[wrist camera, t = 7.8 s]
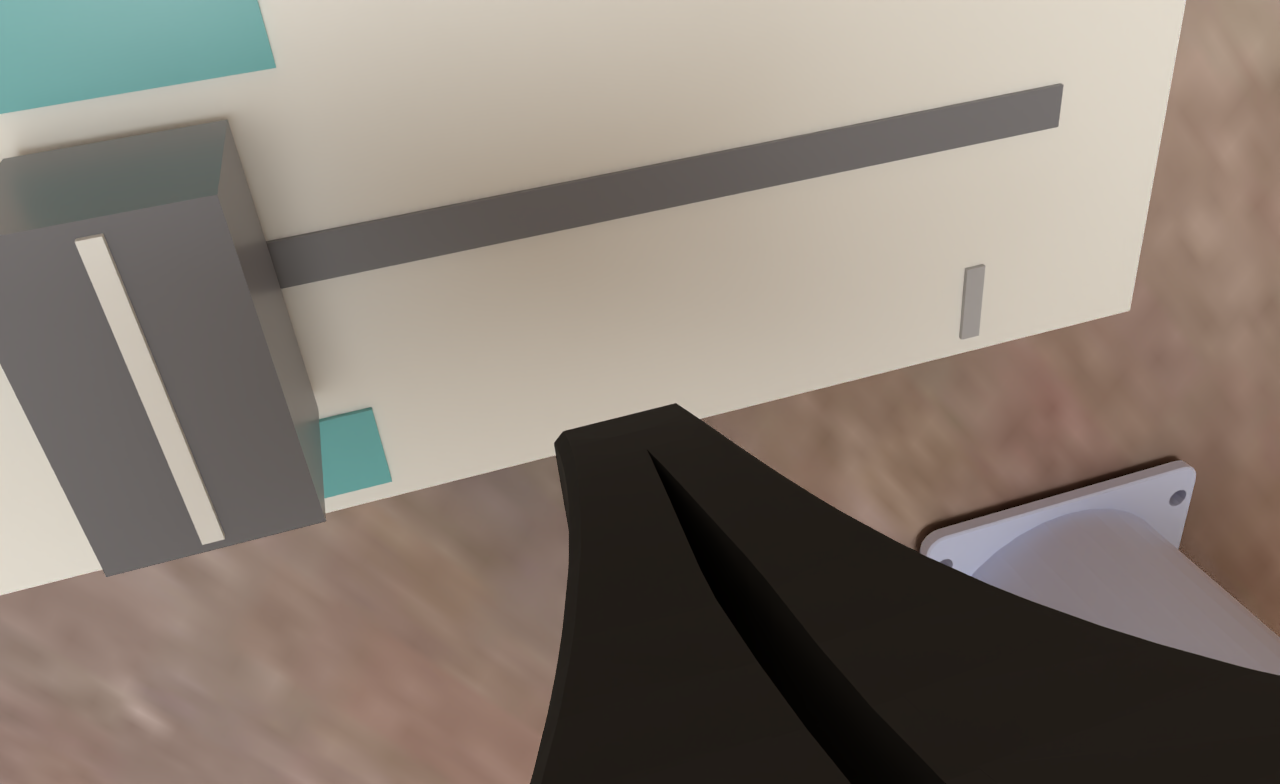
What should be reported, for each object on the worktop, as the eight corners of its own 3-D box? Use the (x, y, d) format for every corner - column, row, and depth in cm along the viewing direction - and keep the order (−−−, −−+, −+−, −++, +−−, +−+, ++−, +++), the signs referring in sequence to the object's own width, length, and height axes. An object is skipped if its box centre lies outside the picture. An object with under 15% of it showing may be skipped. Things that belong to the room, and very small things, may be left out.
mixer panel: (1085, 282, 24) (1133, 312, 23) (-45, 557, 19) (-68, 616, 18) (1162, -221, 18) (1230, -220, 17) (-383, -10, 14) (-452, 13, 12)
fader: (318, 408, 18) (326, 526, 15) (132, 451, 17) (105, 581, 14) (227, 119, 15) (216, 197, 12) (3, 158, 14) (-61, 249, 12)
